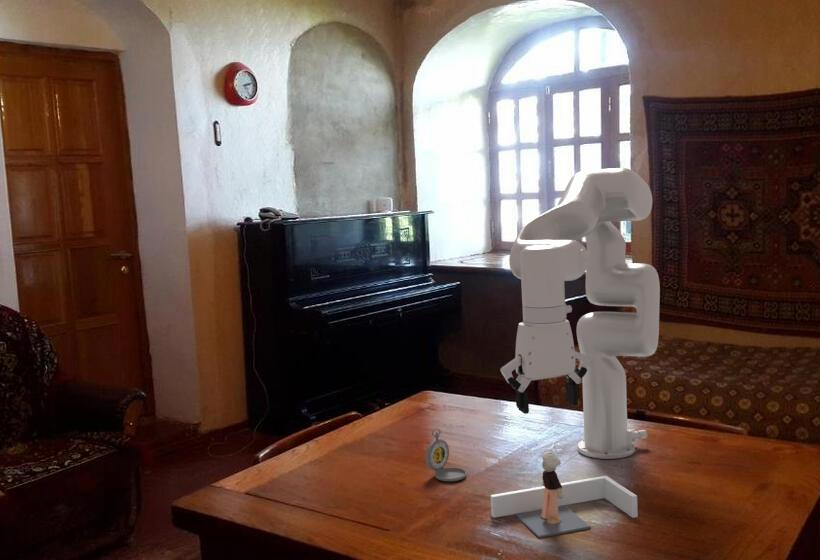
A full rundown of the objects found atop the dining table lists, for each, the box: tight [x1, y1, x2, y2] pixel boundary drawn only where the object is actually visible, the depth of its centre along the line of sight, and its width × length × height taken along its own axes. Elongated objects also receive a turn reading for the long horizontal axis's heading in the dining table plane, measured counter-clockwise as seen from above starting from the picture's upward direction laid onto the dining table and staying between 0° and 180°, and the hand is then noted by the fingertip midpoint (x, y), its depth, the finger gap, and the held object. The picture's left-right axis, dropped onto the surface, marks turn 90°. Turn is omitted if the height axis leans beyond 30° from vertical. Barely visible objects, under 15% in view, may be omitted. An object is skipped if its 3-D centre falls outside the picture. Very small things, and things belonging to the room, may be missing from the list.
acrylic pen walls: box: [490, 475, 639, 519], centre depth 147 cm, size 24×11×4 cm, turn 106°
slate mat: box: [515, 505, 592, 539], centre depth 145 cm, size 10×10×1 cm
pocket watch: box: [425, 427, 467, 482], centre depth 170 cm, size 8×8×10 cm
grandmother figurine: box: [541, 451, 563, 524], centre depth 144 cm, size 8×4×13 cm, turn 25°
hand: (548, 407), depth 145 cm, fingers open, 9 cm apart
